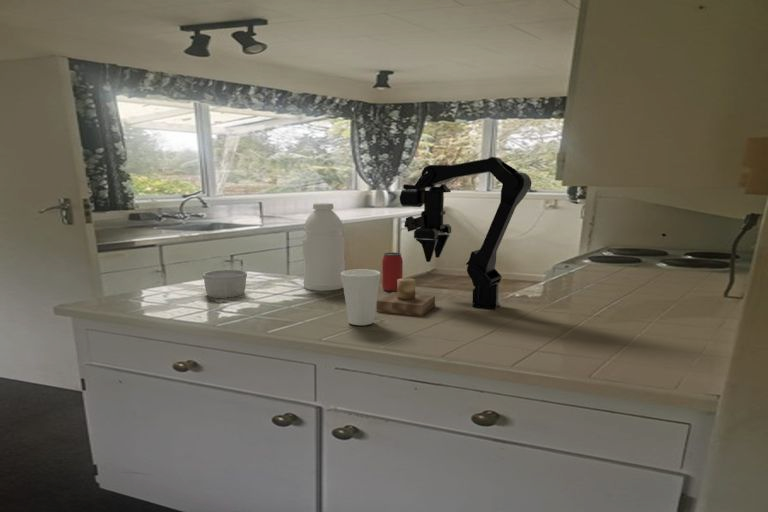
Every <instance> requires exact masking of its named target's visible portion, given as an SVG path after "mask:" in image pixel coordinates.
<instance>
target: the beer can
mask: <svg viewBox="0 0 768 512" xmlns="http://www.w3.org/2000/svg"><path fill="white" fill-rule="evenodd" d="M403 261H404V260H403V256H402V254H401V253H400V252H384V253H383V257H382V263H381V265H382V269H381V270H382V271H381V273H382V274H381V275H382V277H381V279H382V283H381V284H382V285H381V287H382V290H383V291H385V292H390V293H392V292H397V280H398V279H402V278H403V265H404V264H403Z"/></svg>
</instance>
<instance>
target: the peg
mask: <svg viewBox="0 0 768 512" xmlns="http://www.w3.org/2000/svg"><path fill="white" fill-rule="evenodd" d="M396 292H397V299H399V300H414V299H415V294H416V279H414V278H407V277H406V278H403V277H402V279H398V280H397V291H396Z"/></svg>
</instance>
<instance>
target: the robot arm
mask: <svg viewBox="0 0 768 512" xmlns="http://www.w3.org/2000/svg"><path fill="white" fill-rule="evenodd" d="M487 173H490V174H491V175H492V176H493V177H494V179H496V180H497V181H498V182H499V183H501V184H502V185H501V189H500V203H499V205H498V207H497V209H496V212H495V214H494V216H493V218H492V221H491V224H490V225H489V229H488V231H487V233H486V235H485V237H484V240H483V242H482V245H481V247H480V248H479V249H476V250H473V251H471V253H470V254H469V255H470V256H469V259H468V261H467V262H466V263H465V265H466V266H467V268H466V272H467V275H468V276H469V278H470V279H471V283H472V285H473V287H474V288H473V290H472V301H471V303H472V307H473V308H482V309H483V308H484V309H493V310H495V309H497V307H498V306H499V305H500V302H499V284H501V283H500V282H501V281H502V278H503V277H502V275H501V274H500V273H499V272H498V270H497V269H496V263H497V251H498V249H499V247H500V244H501V242H502V240H503V237H504V236H505V233H506V230H507V228H508V226H509V224H510V222H511V219H512V217H513V215H514V213H515V209H516V208H517V206H518V205H519V204H520V203H521V202H522V200H523V199H524V198H525V197H526V195H527V194H528V191H530V189H531V187H532V179H531V176H529V175H528V174H527V173H526V172H523V171H521V172H520V171H518V170H517V169H515V168H514V167H512V166H511V165H509V164H507V163H506V162H504V161H503V160H502V159H501V157H496V156H489V157H488V158H482V159H477V160H471V161H468V162H467V161H466V162H461V163H455V164H427V165H425V166H424V167H423V169H422V171H421V175H420V176H419V178H418V180H417V181H416V183H415V184H403V188H402V189H401V192H400V195H399V203H400V205H401V206H402V207H407V208H409V207H410V208H422V207H423V205H424V207H423V208H424V209H423V211H421V213H420V216H418V217H414V216H407V217H406V218H405V221H404V225H403V226H404V227H405V228H406V229H407V232H413V239H415V240H416V242H418V243H420V245H421V247H422V250H423V255H424V258H425V261H426V262H427V263H431V262H432V261H431V260H432V258H433V255H435V258H440V257H441V255H442V252H443V250H444V247H445V245H446V244H447V242H448V239H449V238H450V236H451V235H450V234H452V226H451V225H450V224H448V223H444V215H446V210H444V204H445V203H444V198H445V197H444V196H445V193H446V194H447V193H451V192H452V190H451V189H450V188H449V187H448V186H447V185H446V184H445V183H448V182H450V181H453V180H454V179H457V178H463V177H469V176H474V175H480V174H487ZM436 185H438V186H436ZM439 185H440V186H439ZM426 188H427V189H428V188H429V189H428V190H427V189H426Z"/></svg>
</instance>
